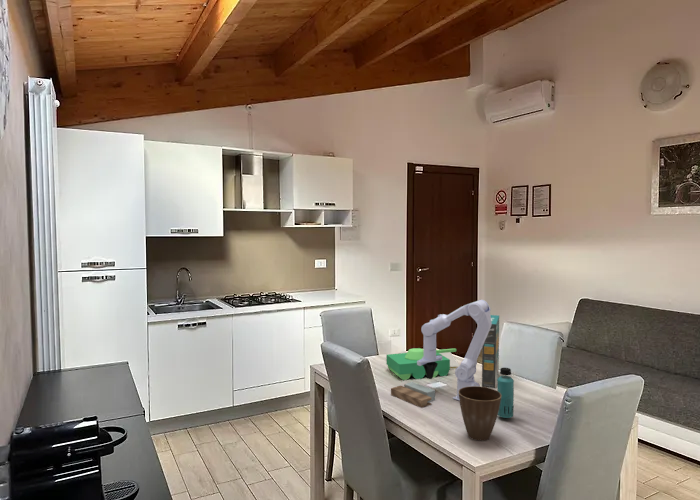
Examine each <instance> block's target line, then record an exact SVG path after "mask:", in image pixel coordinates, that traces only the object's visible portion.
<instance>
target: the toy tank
mask: <svg viewBox="0 0 700 500" xmlns="http://www.w3.org/2000/svg"><path fill="white" fill-rule="evenodd" d="M447 352H451V353H454V352H455V353H456V352H457V348H447V349H446V348H445V349H443V348H441V349H436V356H438V355H440V356H442V360H439V361H435V362H436V363H438V365H437V367H436V369H435V371H434V374H433V378H436V377H437V376H440V377H446V376H448V375H449V372H450V369H451V368H450V359H448V358H446V357H444V356H443V355H441V354H439V353H447ZM422 357H424V350H423V348H420V347H418V348H414V347H413V348H410V349H408V350H407V352H401V353H391V354H390V353H389V354H386V358H385V359H386V360H385V363H386V366H387V368H388V369H389V370H390V371H391V372H392V373H393V374H394V375H396V376H397V377H399V378H400V379H401V380H402V381H405V380H406V381H407V380H409V379H410V378H411V376H412V377H413V379H416V380H421V379H422V380H423V378H424V377H425V376H426V377H427V375H426V371H425V369H424V367H423V365H422V366H419V365H417V361H418V360H420V359H422Z"/></svg>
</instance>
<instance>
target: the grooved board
mask: <svg viewBox="0 0 700 500" xmlns="http://www.w3.org/2000/svg"><path fill="white" fill-rule="evenodd" d="M390 395H391V396H393V397H395V398H398V399H400V400H402V401H405V402H406V403H407V402H408V403H409V404H411V405H414V406H417V407H419V408H425V407H428V406H431V405H432V403H431V401H430V400H432V397H429V396H427V395H424V394H421V393H419V392H416V391H414V390H411V389H409V388H406V387H404V385H398V386H394V387H391V388H390ZM427 401H430V402H427Z"/></svg>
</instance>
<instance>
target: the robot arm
mask: <svg viewBox="0 0 700 500" xmlns="http://www.w3.org/2000/svg"><path fill="white" fill-rule="evenodd" d="M491 309H492V308H491V307H490V305H489V303H488V302H487V301H486V300H484V299H478V300H476V301H473V302H470V303H467V304H464V305H463V306H462V305H461V306H460V307H459V308H457V309H455V310H453V311H452V312H450V313H449V314H444V313H442V314H441V313H440V314H437V317H436V318H433V319H430V320H429V322H426V323H424V324H423V325H421V329H420V330H421V334H422V335H423V340H422V341H423V346H422V347H423V348H422V349H423V350H424V357H422V359H420V360H418V361H417V365H419V366H422V365H423V367H424V369H425V371H426V375H427V376H426V375H425V376H426V378H427V379H429V380H432V379H434V377H433V374H434V371H435V369H436V367H437V365H438V363H436V362H435V361H439V360H442V356H440V355H438V356H436V350H437V333H439V332H441V331H442V330H444V329H446V328H448V327H450V326H451V323H452V322H453V321H454V320H456V319H458V318H460V317H463V316H466V317H467V316H470V317H471V318H472V319H473V321H475V323H476V324H477V327H476V329H475V332H474V335H473V337H472V339H471V342H470V344H469V346H468V349H467V352H466V353H465V356H464V358H463V359H462V361H461V362H460V363H459V365H460V366H459V367H457V368H455V370H454V375H455V378H457V379H456V380H457V381H456V385H457V386H456V395H455V396H452V399H453V400H456V401H459V402H460V400H459V390H460V389H461V388H464V387H470V386H479V387H481V386H480V383H479V382H477V381H476V380H475V374H476V372H477V364H478V361H477V360H478V359H479V355H480V353H481V352H482V347H483V344H484V342H485V340H486V337H487V335H488V332H489V330H490V328H491V325H492V323H491V315H492V314H491Z"/></svg>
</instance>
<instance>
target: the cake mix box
mask: <svg viewBox="0 0 700 500" xmlns="http://www.w3.org/2000/svg"><path fill="white" fill-rule="evenodd" d="M490 315H491V323H492V325H491V328H490V330H489V332H488V335H487V337H486V340H485V342H484V344H483V347H482V349H481V355H482V356H481V359H482V360H481V387H487V388H491V389H496V388H497V387H496V386H497V379H498V378H499V373H500V372H499V370H500V369H499V367H500V366H499V362H500V361H499V360H500V355H499V354H500V353H499V352H500V315H497V314H496V315H494V314H490Z"/></svg>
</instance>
